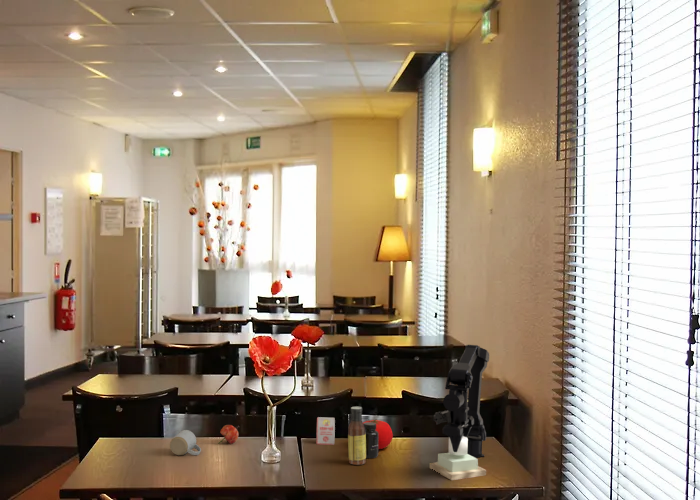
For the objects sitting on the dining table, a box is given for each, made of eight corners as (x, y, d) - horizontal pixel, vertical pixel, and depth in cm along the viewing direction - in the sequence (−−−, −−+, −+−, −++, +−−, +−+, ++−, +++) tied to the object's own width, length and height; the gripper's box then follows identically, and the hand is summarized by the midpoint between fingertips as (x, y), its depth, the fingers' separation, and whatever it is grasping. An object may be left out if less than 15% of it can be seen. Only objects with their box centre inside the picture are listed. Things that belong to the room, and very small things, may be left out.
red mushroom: (223, 452, 299) (244, 435, 301) (211, 436, 299) (233, 420, 301) (224, 448, 307) (244, 432, 308) (212, 433, 307) (233, 417, 308)
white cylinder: (460, 448, 278) (460, 434, 278) (471, 453, 273) (471, 439, 272) (444, 451, 275) (445, 436, 275) (455, 456, 270) (456, 441, 269)
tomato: (399, 446, 303) (399, 419, 303) (382, 454, 292) (382, 426, 292) (367, 440, 311) (367, 414, 311) (349, 448, 300) (350, 421, 300)
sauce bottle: (368, 462, 283) (369, 406, 282) (361, 466, 277) (362, 410, 277) (352, 459, 286) (353, 404, 285) (344, 464, 280) (345, 408, 279)
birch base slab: (462, 465, 284) (463, 458, 283) (486, 477, 271) (486, 470, 271) (429, 470, 277) (429, 463, 277) (451, 482, 265) (451, 474, 265)
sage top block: (462, 461, 281) (462, 451, 281) (477, 469, 272) (477, 459, 271) (437, 463, 277) (437, 453, 277) (452, 472, 268) (452, 462, 267)
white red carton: (317, 441, 308) (317, 416, 308) (334, 442, 308) (334, 416, 308) (316, 444, 305) (316, 418, 304) (333, 444, 304) (334, 419, 304)
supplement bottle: (376, 459, 286) (377, 426, 286) (358, 458, 288) (358, 425, 287) (379, 454, 293) (380, 421, 293) (361, 452, 295) (362, 420, 294)
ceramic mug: (168, 455, 286) (168, 434, 286) (177, 449, 294) (177, 428, 294) (196, 458, 284) (196, 437, 284) (204, 451, 293) (204, 431, 292)
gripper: (444, 396, 285) (443, 439, 286) (428, 407, 268) (427, 453, 269) (474, 400, 281) (473, 443, 281) (460, 411, 264) (459, 457, 264)
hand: (458, 449), depth 274 cm, fingers closed on white cylinder, 6 cm apart
